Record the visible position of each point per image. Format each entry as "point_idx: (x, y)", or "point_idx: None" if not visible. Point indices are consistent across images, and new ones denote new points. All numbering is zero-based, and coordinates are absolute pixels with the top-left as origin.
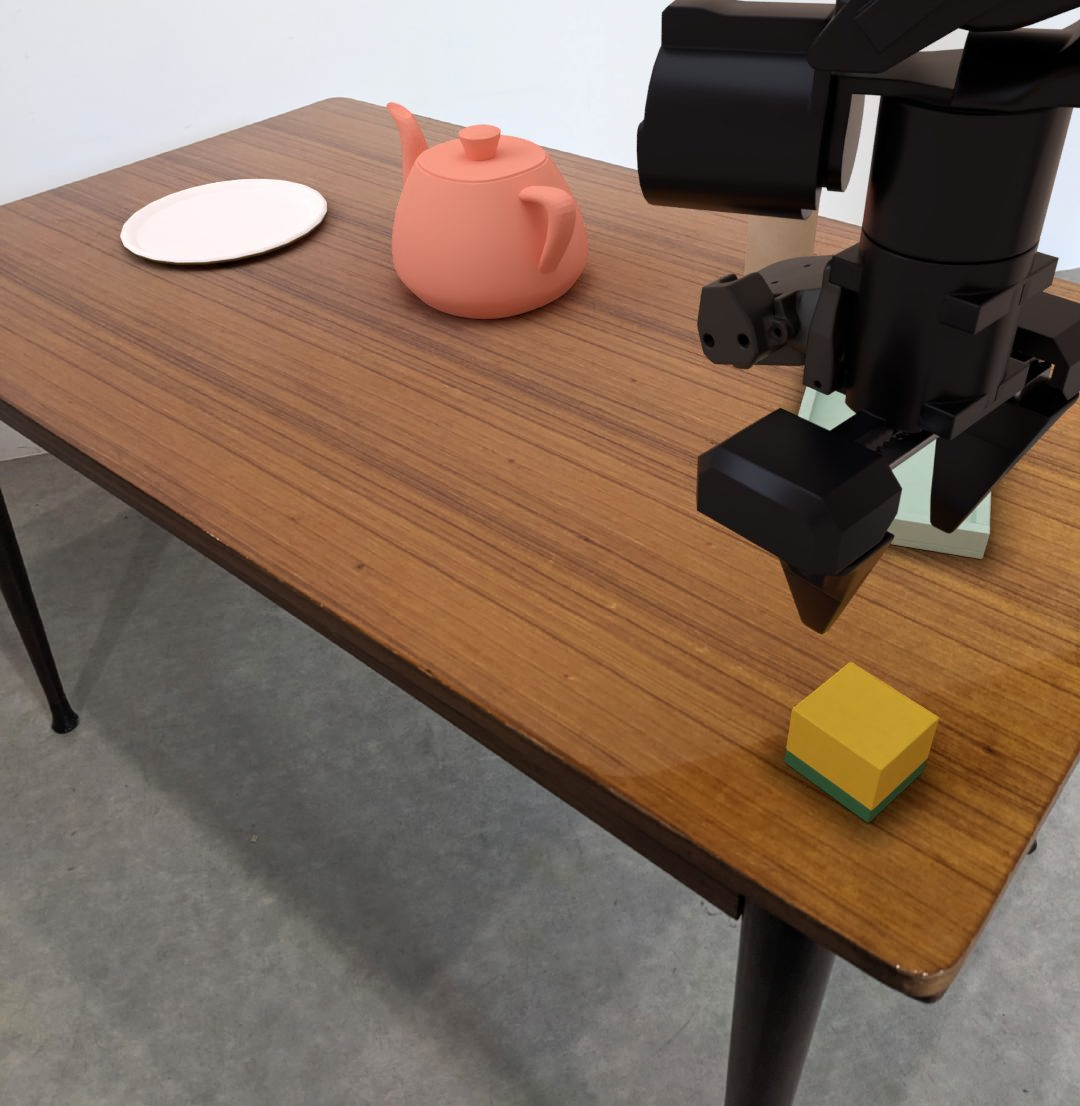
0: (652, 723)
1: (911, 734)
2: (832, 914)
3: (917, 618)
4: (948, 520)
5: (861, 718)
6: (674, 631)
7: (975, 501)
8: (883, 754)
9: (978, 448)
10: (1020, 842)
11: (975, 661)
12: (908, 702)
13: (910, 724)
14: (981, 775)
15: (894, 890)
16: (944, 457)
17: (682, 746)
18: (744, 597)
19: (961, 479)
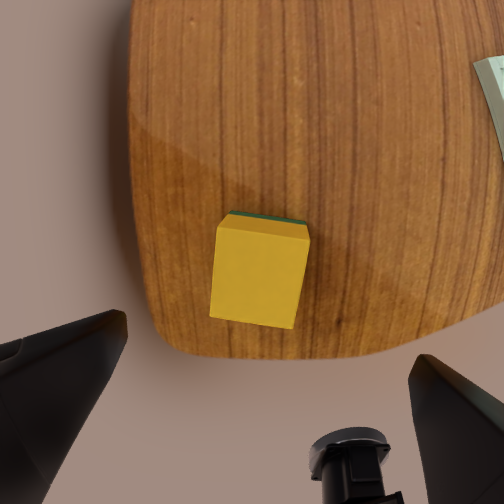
0: (194, 102)
1: (260, 320)
2: (152, 296)
3: (443, 223)
4: (416, 387)
5: (248, 282)
6: (300, 49)
7: (419, 443)
8: (225, 311)
9: (460, 494)
10: (275, 359)
11: (419, 280)
12: (292, 304)
13: (269, 315)
14: (313, 326)
15: (191, 317)
16: (472, 430)
17: (190, 136)
18: (382, 79)
19: (441, 442)
